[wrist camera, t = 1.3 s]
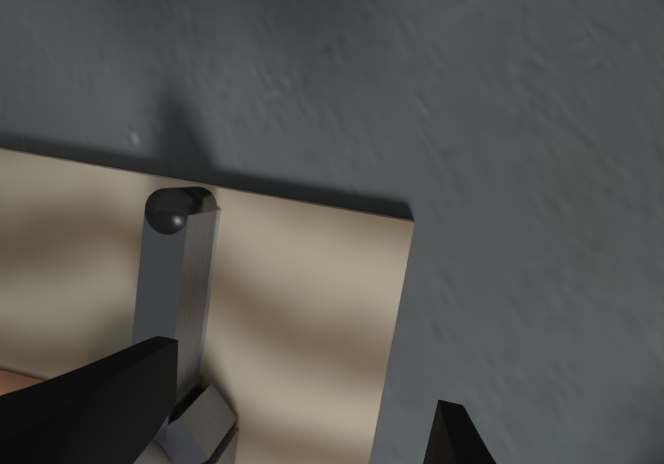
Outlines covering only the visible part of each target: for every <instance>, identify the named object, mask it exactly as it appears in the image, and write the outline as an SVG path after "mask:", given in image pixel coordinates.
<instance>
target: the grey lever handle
mask: <svg viewBox="0 0 664 464" xmlns="http://www.w3.org/2000/svg"><path fill="white" fill-rule="evenodd" d="M216 215H217V202H216V199H215V197H214V195H213V194H212V193H211V192H210V191H209V190H208V189H206V188H203V187H199V186H194V187H176V188H162V189H158V190H156V191H154V192H153V193H152V194H151V195H150V196H149V197H148V199H147V201H146V204H145V211H144V221H143V231H142V242H141V252H140V262H139V272H138V283H137V293H136V303H135V313H134V324H133V334H132V344H131V346H133V345H135V344H137V343H140V342H142V341H145V340H147V339H150V338H153V337H156V336H163V337H167V338H171V339H176V340H178V365H177V394H176V403H175V405H174V406H173V408H172V410H171V411H170V413H169V415H168V417H167V418H166V420H165V421H164V423H163V425H162V426H161V428H160V429H159V431H158V433H157V434H156V435H155V437H154V438H153V439H152V440H156V441H159V443H160V444H161V446H162V447H163V448H164V450H165V451H166V453H167V454H168V455H169V457H170V458H171V460H172V461H173V462H174V464H235V457H236V450H237V443H238V436H239V429H240V428H237V427H233V426H232V425H233V423H234V422H235V421H236V419H237V418H236V416H235V415H234V414H233V412H232V411H231V409H230V408H229V407H228V405H227V404H226V402H225V401H224V400H223V398H222V397H221V395H220V394H219V393H218V391H217V390H216V388H215V387H214V385H213V384H212V383H211V384H210V385H208V386H207V387H205V388H204V389H202V383H203V377H200V376H197V371H198V362H199V354H200V346H201V338H202V330H203V322H204V313H205V305H206V297H207V289H208V281H209V272H210V264H211V256H212V248H213V240H214V231H215V223H216Z"/></svg>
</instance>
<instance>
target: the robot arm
mask: <svg viewBox="0 0 664 464" xmlns="http://www.w3.org/2000/svg"><path fill="white" fill-rule="evenodd" d="M177 365H178V340H176V339H171V338H167V337H163V336H156V337H153V338H150V339H147V340H145V341H142V342H140V343H137V344H135V345H133V346H130V347H128V348H126V349H123V350H121V351H119V352H116V353H114V354H112V355H109V356H107V357H105V358H102V359H100V360H97V361H95V362H93V363H90V364H88V365H86V366H83V367H80V368H78V369H75V370H73V371H70V372H67V373H65V374H62V375H59V376H57V377H54V378H52V379H49V380H46V381H44V382H41V383H38V384H35V385H32V386H29V387H26V388H23V389H19V390H16V391H13V392H10V393H6V394H3V395H0V464H133V463H134V462H135V461H136V460H137V458H138V457H139V456H140V455H141V453H142V452H143V451H144V450H145V448H146V447H147V446H148V445H149V443H150V442H151V441H152V439H153V438H154V437H155V435H156V434H157V433H158V431H159V429H160V428H161V426H162V425H163V423H164V421H165V420H166V418H167V417H168V415H169V413H170V411H171V410H172V408H173V406H174V405H175V403H176V394H177ZM423 464H496V462H495V461H494V459H493V458H492V456H491V454H490V453H489V451H488V449H487V447H486V446H485V444H484V442H483V440H482V439H481V437H480V435H479V433H478V432H477V430H476V428H475V426H474V424H473V422H472V420H471V419H470V417H469V415H468V413H467V411H466V409H465V408H464V406H463V405H460V404H455V403H451V402H447V401H442V400H438V404H437V408H436V412H435V416H434V421H433V425H432V429H431V433H430V437H429V441H428V445H427V449H426V454H425V458H424V462H423Z"/></svg>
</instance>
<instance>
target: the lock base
mask: <svg viewBox="0 0 664 464" xmlns="http://www.w3.org/2000/svg"><path fill="white" fill-rule="evenodd" d="M194 186H199V187H203V188H206V189H208V190H209V191H210V192H211V193H212V194H213V195H214V197H215V199H216V202H217V215H216V223H215V231H214V240H213V248H212V256H211V264H210V272H209V281H208V289H207V297H206V305H205V313H204V322H203V330H202V338H201V346H200V354H199V362H198V371H197V376H200V377H203V383H202V389H204V388H205V387H207V386H208V385H210V384H211V383H212V384H213V385H214V387H215V388H216V390H217V391H218V393H219V394H220V395H221V397H222V398H223V400H224V401H225V402H226V404H227V405H228V407H229V408H230V409H231V411H232V412H233V414H234V415H235V416H236V418H237V419H236V421H235V422H234V423H233V425H232V426H233V427H237V428H240V429H239V436H238V443H237V450H236V457H235V464H369V460H370V455H371V450H372V445H373V439H374V434H375V429H376V423H377V418H378V413H379V408H380V402H381V397H382V392H383V387H384V381H385V376H386V371H387V365H388V360H389V355H390V350H391V344H392V339H393V334H394V329H395V323H396V318H397V313H398V307H399V302H400V297H401V292H402V286H403V281H404V276H405V270H406V265H407V260H408V255H409V249H410V244H411V239H412V234H413V228H414V223H415V222H414V220H410V219H404V218H398V217H393V216H387V215H381V214H376V213H370V212H364V211H359V210H353V209H347V208H341V207H336V206H330V205H324V204H319V203H313V202H307V201H302V200H296V199H290V198H285V197H279V196H273V195H267V194H262V193H256V192H250V191H245V190H239V189H233V188H228V187H222V186H216V185H211V184H205V183H199V182H193V181H188V180H182V179H176V178H171V177H165V176H159V175H154V174H148V173H142V172H137V171H131V170H125V169H119V168H114V167H108V166H102V165H97V164H91V163H85V162H80V161H74V160H68V159H63V158H57V157H51V156H45V155H40V154H34V153H28V152H23V151H17V150H11V149H6V148H0V395H3V394H6V393H10V392H13V391H16V390H19V389H23V388H26V387H29V386H32V385H35V384H38V383H41V382H44V381H46V380H49V379H52V378H54V377H57V376H59V375H62V374H65V373H67V372H70V371H73V370H75V369H78V368H80V367H83V366H86V365H88V364H90V363H93V362H95V361H97V360H100V359H102V358H105V357H107V356H109V355H112V354H114V353H116V352H119V351H121V350H123V349H126V348H128V347H130V346H131V344H132V334H133V324H134V313H135V303H136V293H137V283H138V272H139V262H140V252H141V242H142V231H143V221H144V211H145V204H146V201H147V199H148V197H149V196H150V195H151V194H152V193H153V192H154V191H156V190H158V189H162V188H176V187H194ZM133 464H174V462H173V461H172V460H171V458H170V457H169V455H168V454H167V453H166V451H165V450H164V448H163V447H162V446H161V444H160V443H159V441H156V440H152V441H151V442H150V443H149V445H148V446H147V447H146V448H145V450H144V451H143V452H142V453H141V455H140V456H139V457H138V458H137V460H136V461H135V462H134V463H133Z"/></svg>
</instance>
